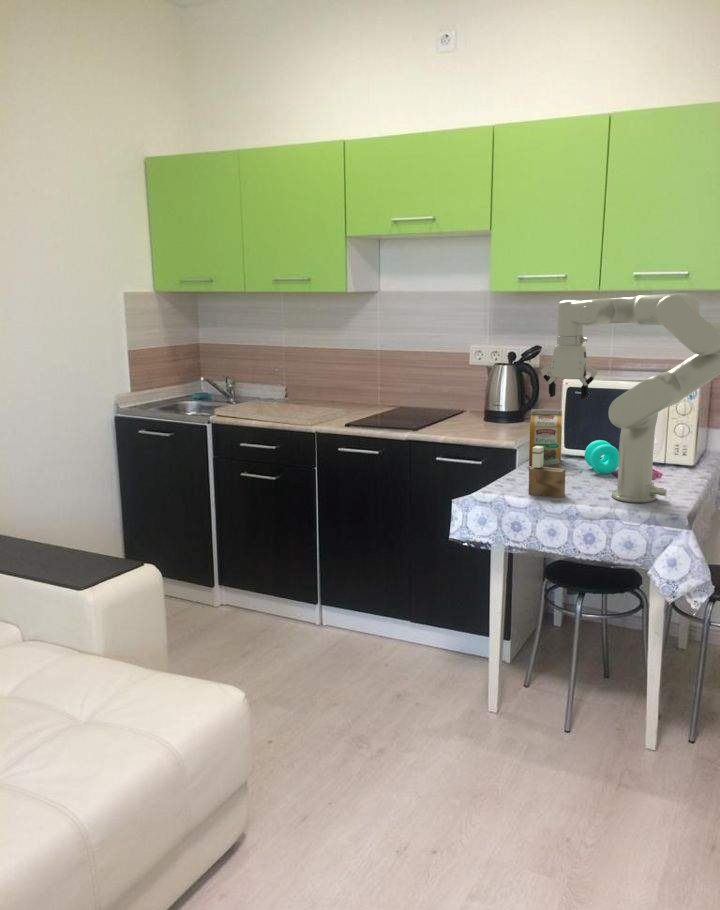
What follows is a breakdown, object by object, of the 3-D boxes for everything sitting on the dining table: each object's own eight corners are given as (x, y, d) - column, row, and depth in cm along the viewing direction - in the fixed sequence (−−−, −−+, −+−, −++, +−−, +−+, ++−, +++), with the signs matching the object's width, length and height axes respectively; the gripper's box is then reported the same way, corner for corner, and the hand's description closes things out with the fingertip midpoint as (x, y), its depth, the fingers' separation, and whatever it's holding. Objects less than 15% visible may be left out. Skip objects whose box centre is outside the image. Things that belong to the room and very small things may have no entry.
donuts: (590, 475, 264) (591, 445, 262) (583, 467, 274) (584, 439, 272) (620, 474, 264) (622, 445, 262) (612, 467, 273) (613, 438, 271)
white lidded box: (543, 465, 243) (543, 446, 242) (539, 467, 240) (540, 448, 239) (535, 464, 244) (536, 445, 243) (531, 467, 241) (532, 447, 240)
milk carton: (529, 465, 279) (530, 412, 275) (531, 458, 289) (532, 407, 285) (560, 466, 277) (561, 412, 272) (560, 459, 286) (562, 407, 282)
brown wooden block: (564, 494, 242) (565, 468, 240) (560, 498, 238) (561, 471, 236) (533, 490, 247) (533, 465, 245) (528, 494, 243) (528, 468, 242)
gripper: (601, 341, 240) (599, 397, 244) (546, 339, 249) (544, 394, 253) (594, 343, 234) (592, 400, 238) (537, 341, 243) (536, 397, 247)
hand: (567, 397), depth 245 cm, fingers open, 9 cm apart
